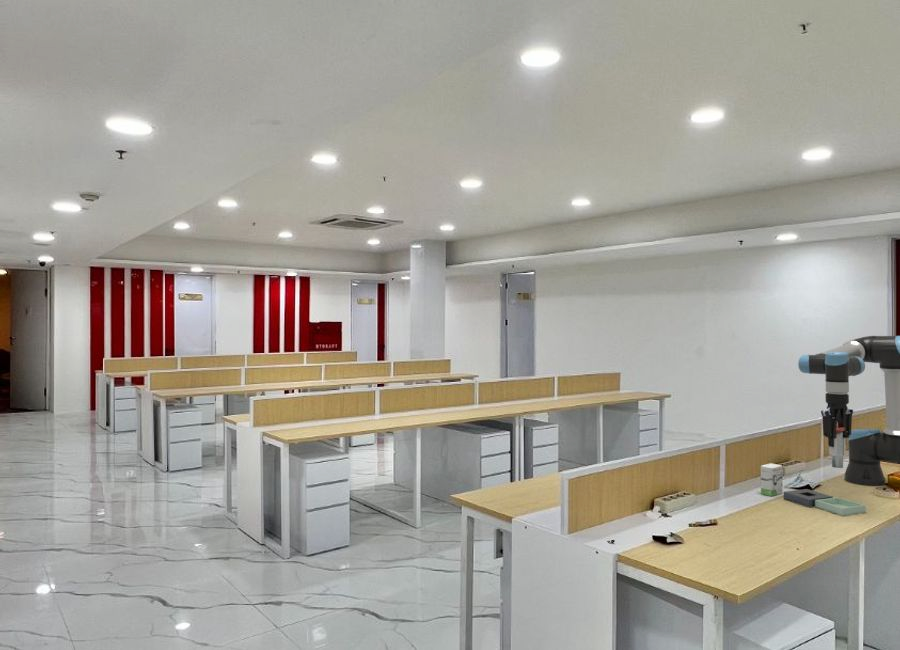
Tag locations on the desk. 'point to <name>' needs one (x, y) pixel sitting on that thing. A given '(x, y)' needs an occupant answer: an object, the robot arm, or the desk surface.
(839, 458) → the red capped clear bottle
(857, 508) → the tray
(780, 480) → the ink box
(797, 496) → the block
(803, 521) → the desk surface
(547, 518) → the desk surface
